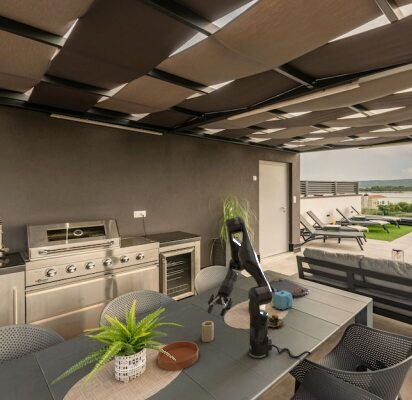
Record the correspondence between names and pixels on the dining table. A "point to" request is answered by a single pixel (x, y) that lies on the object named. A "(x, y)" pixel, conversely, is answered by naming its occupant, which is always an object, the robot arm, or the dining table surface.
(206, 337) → the jar
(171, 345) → the pan
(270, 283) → the serving tray
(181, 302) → the dining table surface
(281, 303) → the teapot
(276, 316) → the burger
